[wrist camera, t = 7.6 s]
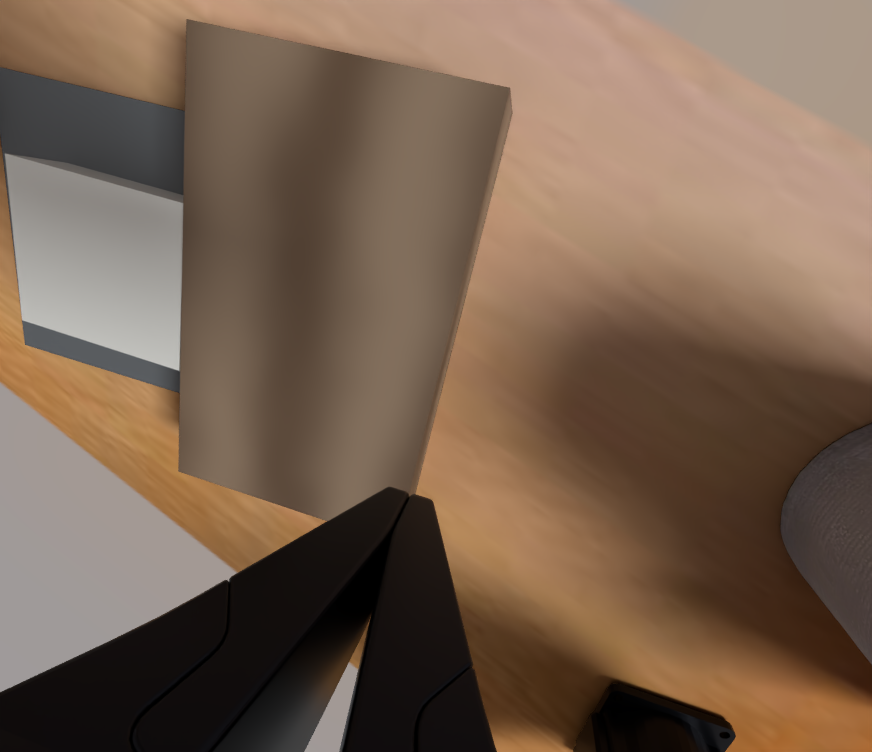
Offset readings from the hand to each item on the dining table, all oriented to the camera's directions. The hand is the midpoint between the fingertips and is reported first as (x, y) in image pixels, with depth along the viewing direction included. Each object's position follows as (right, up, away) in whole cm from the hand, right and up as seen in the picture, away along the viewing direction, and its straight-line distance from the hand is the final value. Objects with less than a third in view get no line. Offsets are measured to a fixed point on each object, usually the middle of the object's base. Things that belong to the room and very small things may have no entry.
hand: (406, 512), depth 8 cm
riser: (-4, +5, +12) cm, 14 cm away
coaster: (-13, +8, +13) cm, 20 cm away
